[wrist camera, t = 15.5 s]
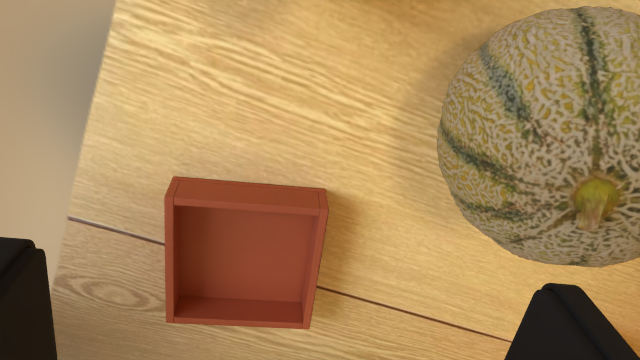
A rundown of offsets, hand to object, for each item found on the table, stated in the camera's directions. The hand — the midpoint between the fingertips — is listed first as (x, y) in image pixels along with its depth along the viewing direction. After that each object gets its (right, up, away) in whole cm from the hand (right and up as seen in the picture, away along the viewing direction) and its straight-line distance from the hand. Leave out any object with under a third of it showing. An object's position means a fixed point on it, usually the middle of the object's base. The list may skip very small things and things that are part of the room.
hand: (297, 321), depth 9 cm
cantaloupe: (+14, +9, +25) cm, 30 cm away
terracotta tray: (-5, -2, +29) cm, 30 cm away
